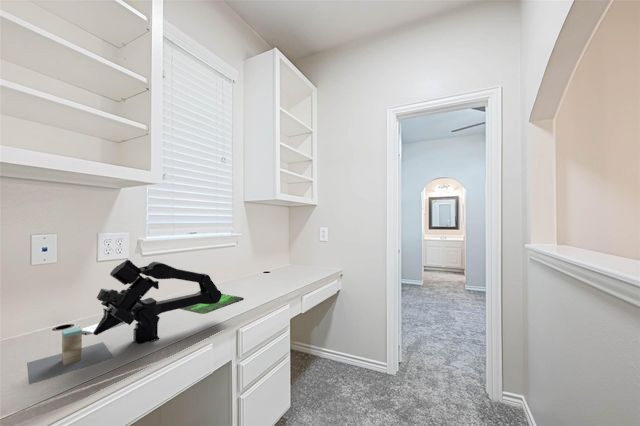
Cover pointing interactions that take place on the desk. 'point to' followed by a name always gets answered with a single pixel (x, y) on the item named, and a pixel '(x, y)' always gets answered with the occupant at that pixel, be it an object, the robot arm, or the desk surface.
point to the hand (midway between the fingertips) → (94, 334)
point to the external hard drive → (92, 328)
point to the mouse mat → (208, 308)
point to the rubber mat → (55, 366)
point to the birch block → (71, 345)
